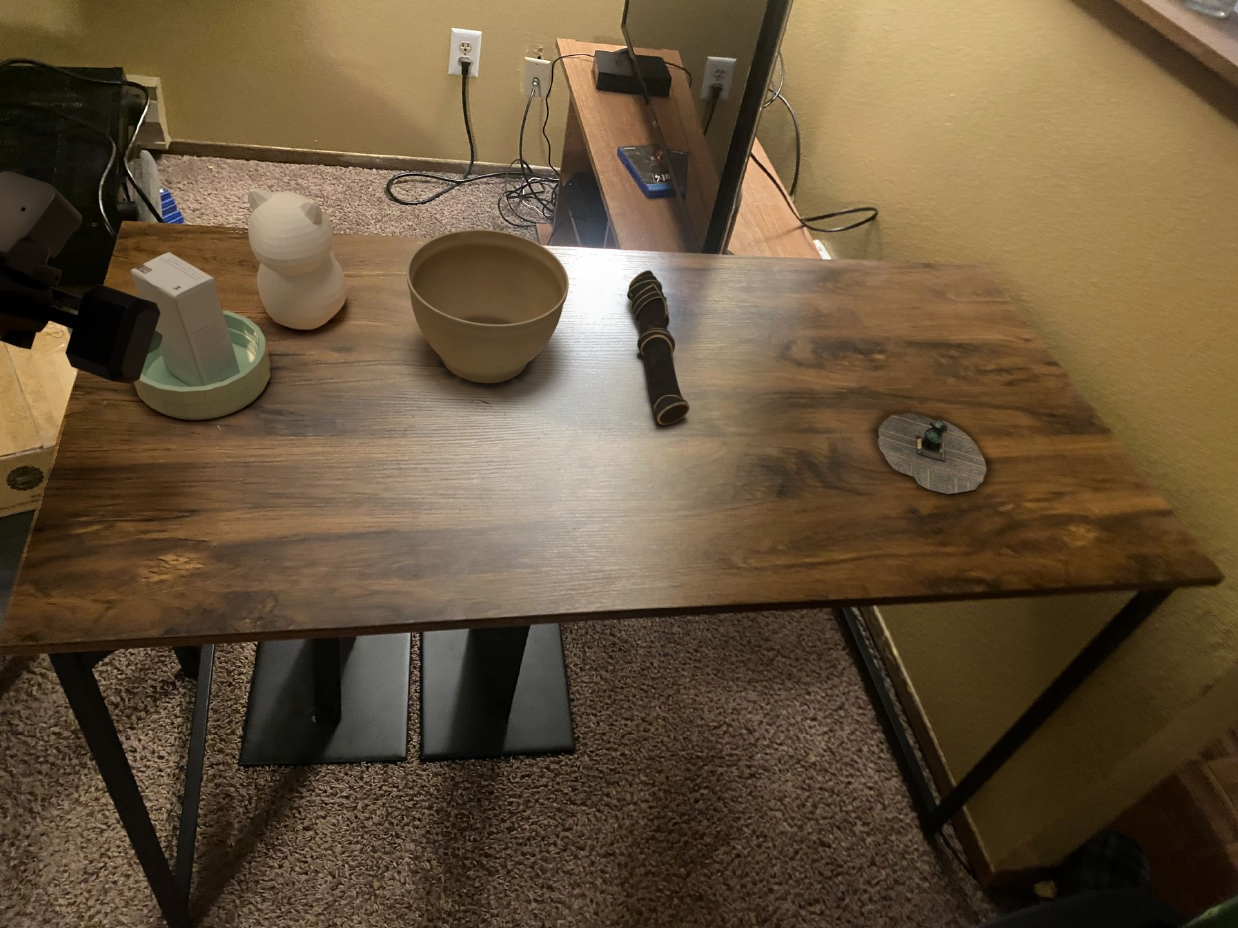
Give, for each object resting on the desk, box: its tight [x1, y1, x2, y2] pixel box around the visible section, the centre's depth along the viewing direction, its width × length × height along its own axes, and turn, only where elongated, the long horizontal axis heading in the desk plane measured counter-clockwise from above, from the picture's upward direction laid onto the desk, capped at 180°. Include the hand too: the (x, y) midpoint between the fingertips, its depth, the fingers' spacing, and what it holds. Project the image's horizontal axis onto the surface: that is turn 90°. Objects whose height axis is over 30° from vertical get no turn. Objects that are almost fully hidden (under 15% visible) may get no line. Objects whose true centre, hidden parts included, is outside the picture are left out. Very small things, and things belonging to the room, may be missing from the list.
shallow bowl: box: [132, 309, 271, 421], centre depth 82 cm, size 12×12×4 cm
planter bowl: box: [405, 228, 570, 384], centre depth 88 cm, size 16×16×11 cm
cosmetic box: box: [130, 251, 240, 387], centre depth 78 cm, size 6×4×12 cm
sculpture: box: [877, 412, 987, 495], centre depth 92 cm, size 12×9×8 cm
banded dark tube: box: [626, 269, 690, 426], centre depth 95 cm, size 4×5×25 cm
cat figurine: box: [247, 187, 348, 331], centre depth 87 cm, size 9×12×15 cm
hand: (110, 324), depth 68 cm, fingers open, 9 cm apart
